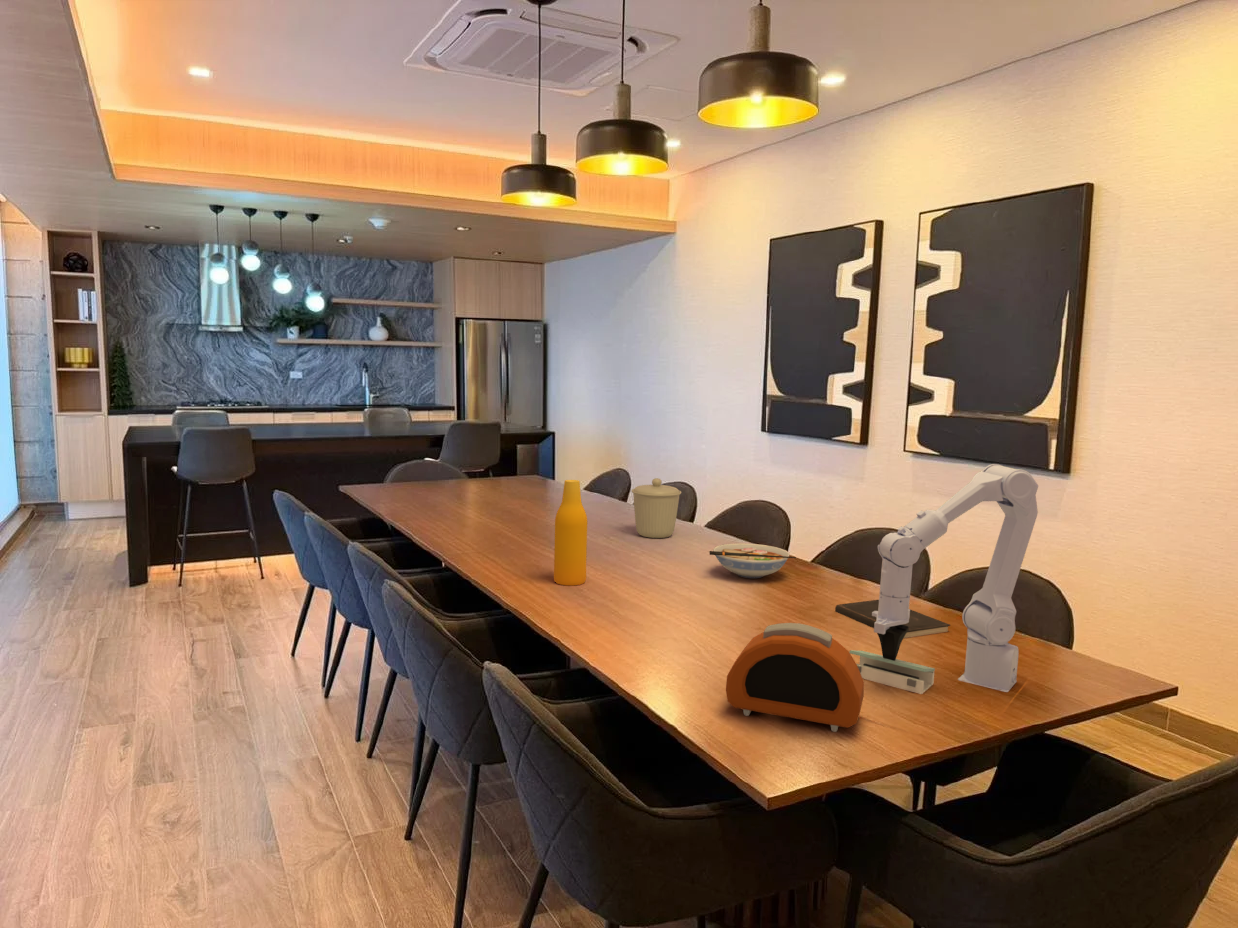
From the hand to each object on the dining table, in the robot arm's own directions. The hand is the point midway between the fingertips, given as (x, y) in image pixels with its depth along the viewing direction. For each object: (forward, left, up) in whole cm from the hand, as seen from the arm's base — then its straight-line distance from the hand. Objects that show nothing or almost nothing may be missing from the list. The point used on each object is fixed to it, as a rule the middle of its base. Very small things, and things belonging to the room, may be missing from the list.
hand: (889, 660), depth 165 cm
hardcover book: (+14, -41, -6) cm, 44 cm away
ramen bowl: (+62, -56, -5) cm, 84 cm away
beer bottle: (+96, -13, -5) cm, 98 cm away
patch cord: (0, -1, -4) cm, 4 cm away
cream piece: (0, -1, -5) cm, 5 cm away
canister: (+116, -83, -5) cm, 143 cm away
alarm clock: (+7, +27, -5) cm, 28 cm away
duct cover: (0, -1, -1) cm, 2 cm away
